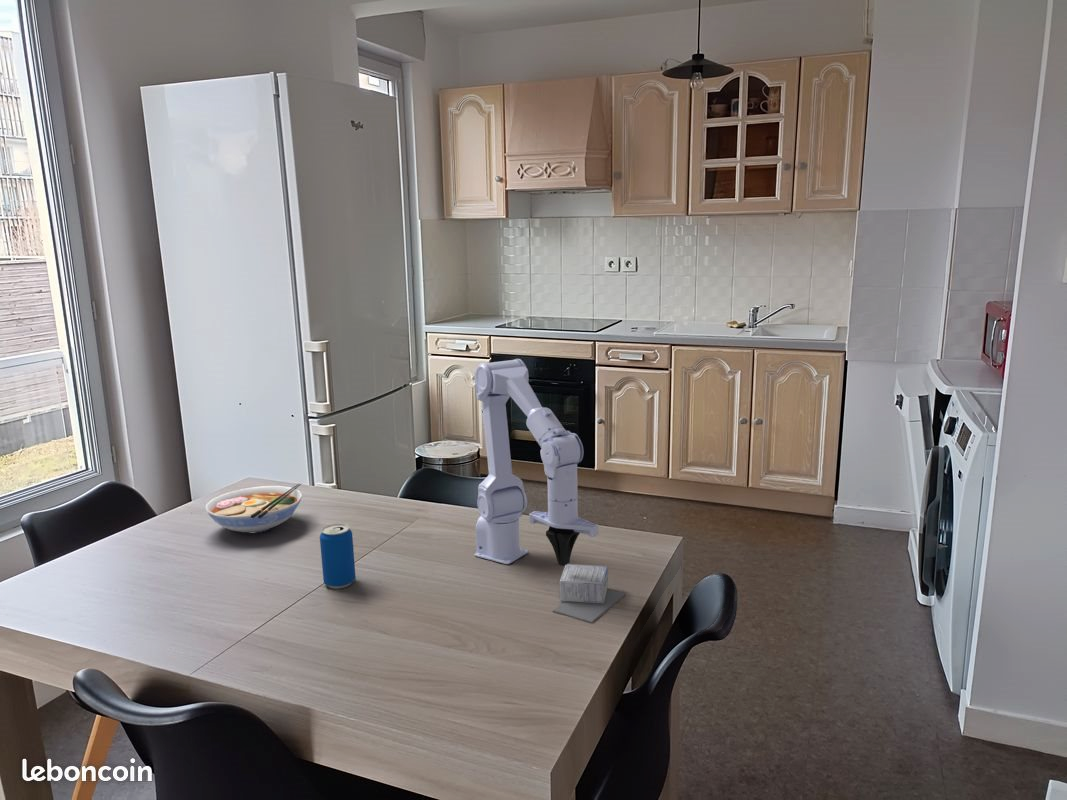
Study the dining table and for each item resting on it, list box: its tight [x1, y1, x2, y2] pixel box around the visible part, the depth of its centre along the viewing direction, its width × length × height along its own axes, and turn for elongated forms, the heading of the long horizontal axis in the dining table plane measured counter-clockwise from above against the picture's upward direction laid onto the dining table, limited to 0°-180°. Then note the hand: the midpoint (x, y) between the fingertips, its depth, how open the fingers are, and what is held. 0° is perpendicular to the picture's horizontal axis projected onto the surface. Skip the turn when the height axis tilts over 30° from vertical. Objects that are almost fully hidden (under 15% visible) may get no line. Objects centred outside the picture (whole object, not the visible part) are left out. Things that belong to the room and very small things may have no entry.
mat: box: [552, 588, 625, 624], centre depth 148 cm, size 8×13×1 cm, turn 146°
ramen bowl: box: [204, 483, 303, 533], centre depth 190 cm, size 25×23×8 cm
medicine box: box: [559, 563, 609, 604], centre depth 150 cm, size 8×4×9 cm
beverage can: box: [319, 523, 357, 590], centre depth 158 cm, size 6×6×12 cm
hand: (563, 563), depth 149 cm, fingers closed
